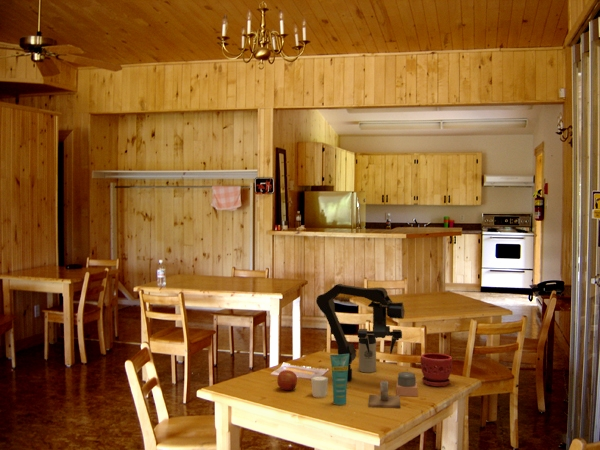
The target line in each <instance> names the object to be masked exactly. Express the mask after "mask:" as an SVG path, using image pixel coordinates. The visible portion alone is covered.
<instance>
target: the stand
mask: <svg viewBox="0 0 600 450" xmlns="http://www.w3.org/2000/svg"><path fill="white" fill-rule="evenodd" d="M396 396H400V397H418V384H417V382H416V385H415V386H413V387H403V386H400V385H398V380H396Z"/></svg>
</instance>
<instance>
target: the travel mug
mask: <svg viewBox="0 0 600 450" xmlns="http://www.w3.org/2000/svg"><path fill="white" fill-rule="evenodd" d="M368 340H369V348H370V353H368V350H367V347H366V344H365V342H364V340H361V338H358V371H359V372H362V373H375V372H376V371H377V338H374V336H369V335H368Z"/></svg>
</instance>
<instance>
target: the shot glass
mask: <svg viewBox="0 0 600 450" xmlns="http://www.w3.org/2000/svg"><path fill="white" fill-rule="evenodd" d="M310 380H311V393H312V396H313V397H315V398H319V397H321V398H325V397H327V393H328V392H327V391H328V382H329V378H328V376H327V377H326V376H322V375H321V376H320V375H316V376H312V377H311V378H310Z"/></svg>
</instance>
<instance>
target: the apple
mask: <svg viewBox="0 0 600 450" xmlns="http://www.w3.org/2000/svg"><path fill="white" fill-rule="evenodd" d="M297 383H298V377H297V374H296V373H295V372H294V371H292V370H285V369H284V370H281V371H280V372H279V373H278V375H277V385H278V387H279V388H280V389H282V390H284V391H291V390H294V389H295V388H296V387H297Z"/></svg>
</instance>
